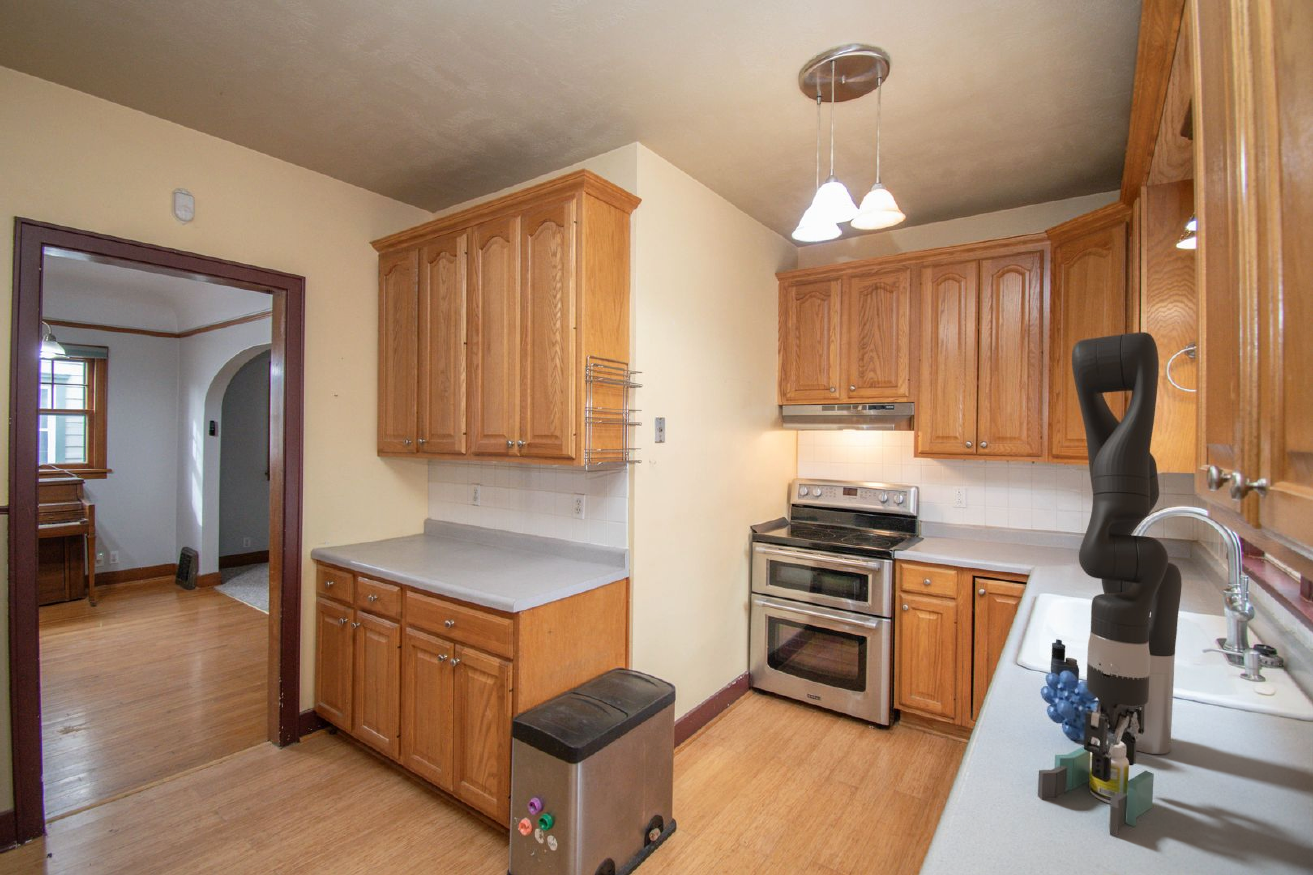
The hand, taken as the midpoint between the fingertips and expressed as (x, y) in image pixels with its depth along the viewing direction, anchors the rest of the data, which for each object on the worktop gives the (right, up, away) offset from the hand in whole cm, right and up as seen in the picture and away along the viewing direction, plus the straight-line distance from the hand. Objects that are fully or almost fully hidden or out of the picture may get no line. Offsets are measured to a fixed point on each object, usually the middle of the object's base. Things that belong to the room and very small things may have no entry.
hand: (1113, 770), depth 92 cm
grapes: (+5, -4, +17) cm, 18 cm away
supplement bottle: (-1, -4, 0) cm, 4 cm away
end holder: (-1, -4, 0) cm, 4 cm away
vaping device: (+16, -4, +35) cm, 39 cm away
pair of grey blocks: (-7, -4, -4) cm, 9 cm away
